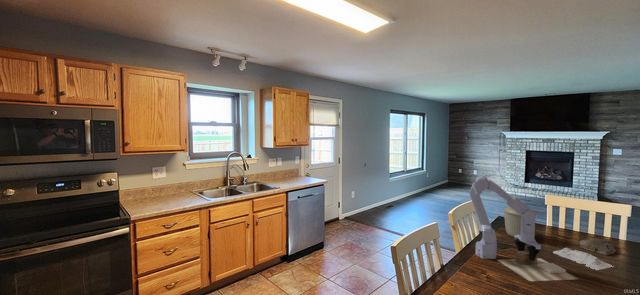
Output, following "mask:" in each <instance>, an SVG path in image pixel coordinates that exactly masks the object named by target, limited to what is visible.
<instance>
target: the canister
mask: <svg viewBox="0 0 640 295" xmlns="http://www.w3.org/2000/svg"><path fill="white" fill-rule="evenodd" d="M502 211H503V215H504V216H503V217H504V224H505V232H506V233H507V235H508V236H509V237H513V238H515V235H521V219H522V215H521V214H519V213H517V212H516V211H515V210H514V209H512V208H511V207H510V206H507V207H504V208H502ZM534 212H535V214H536V216H537V215H538V213H537V212H536V211H534Z"/></svg>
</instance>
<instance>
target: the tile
mask: <svg viewBox="0 0 640 295" xmlns="http://www.w3.org/2000/svg"><path fill="white" fill-rule="evenodd" d="M537 267H539V268H541V269H542V270H544V271H546V272H548V273H549V274H556V273H566V272H567V270H566V269H565V268H563V267H561V266H559V265H557V264H555V263H553V262H548V263H543V264H537Z"/></svg>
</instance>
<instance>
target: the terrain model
mask: <svg viewBox="0 0 640 295" xmlns="http://www.w3.org/2000/svg"><path fill="white" fill-rule="evenodd" d="M552 253H553V254H555V255H558V256H559V257H562V258H565V259H567V260H571V261H573V262H575V261H576V262H575V263H577V264H579V265H580V264H581V265H585V264H586V265H585V267H587V268H589V267H590V269H592V270H594V269H595V270H594V271H601V270H605V269H606V270H607V269H610V268H611V267H612V268H615V267H614V266H615V265H613V264H609V263H607V262H605V261H603V260H600V259H599V258H598V257H596V256H594V255H592V254H589V253H588V252H584V251H580V250H577V249H575V250H573V249H571V248H569V247H564V248H562V249H559V250H554V251H553V252H552ZM612 265H613V266H612ZM612 268H611V269H612Z"/></svg>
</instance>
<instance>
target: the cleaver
mask: <svg viewBox="0 0 640 295" xmlns="http://www.w3.org/2000/svg"><path fill="white" fill-rule="evenodd" d="M550 234H551V235H554V236H557V237H561V238H563V239H565V240H571V238H570V237H567V236H565V235H564V236H563V235H561V234H557V233H554V232H550Z"/></svg>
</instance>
